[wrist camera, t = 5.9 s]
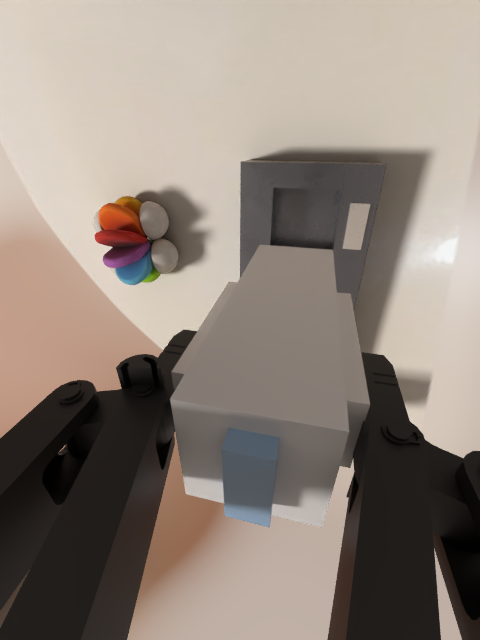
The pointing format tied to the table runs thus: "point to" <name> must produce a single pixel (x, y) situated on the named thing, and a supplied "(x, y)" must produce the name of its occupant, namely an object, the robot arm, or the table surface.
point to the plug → (268, 393)
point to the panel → (311, 211)
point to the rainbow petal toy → (135, 240)
